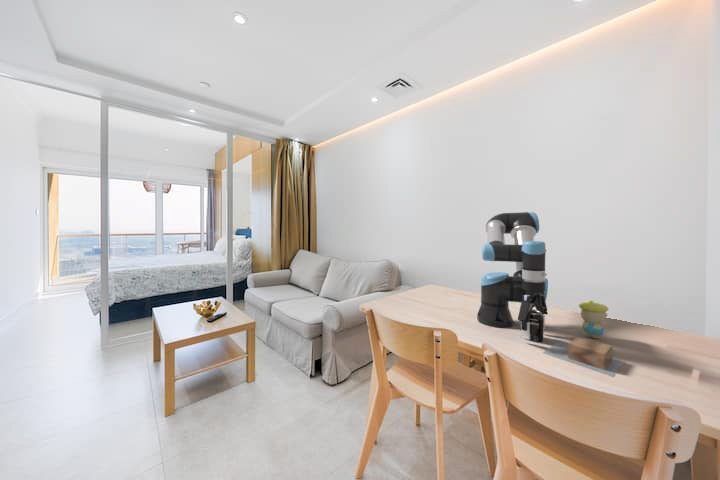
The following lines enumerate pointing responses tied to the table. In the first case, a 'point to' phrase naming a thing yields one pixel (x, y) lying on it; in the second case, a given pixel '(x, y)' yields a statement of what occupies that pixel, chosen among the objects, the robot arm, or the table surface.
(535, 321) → the beverage can
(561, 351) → the plate
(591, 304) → the toy
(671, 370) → the table surface
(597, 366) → the walnut block
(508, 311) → the robot arm
